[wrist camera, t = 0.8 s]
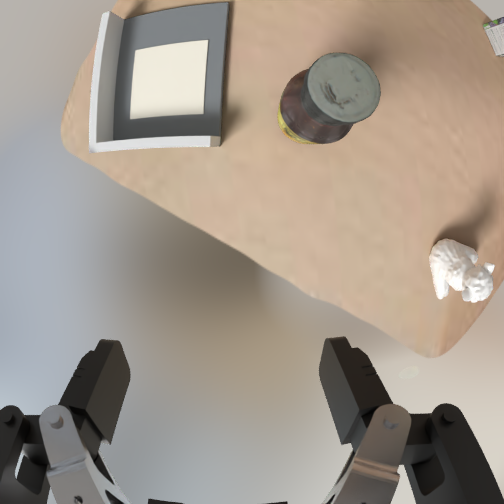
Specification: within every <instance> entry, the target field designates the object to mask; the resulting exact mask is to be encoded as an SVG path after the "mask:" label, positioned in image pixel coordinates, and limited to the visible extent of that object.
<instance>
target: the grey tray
mask: <svg viewBox="0 0 504 504" xmlns="http://www.w3.org/2000/svg"><path fill="white" fill-rule="evenodd" d="M228 16H229V3H228V2H225V3H212V4H202V5H194V6H187V7H180V8H174V9H168V10H163V11H158V12H153V13H149V14H144V15H140V16H136V17H133V18H129V19H125V20H124V19H122V18H121V17H119V16H117V15H116V14H114V13H112V12H111V11H109V12H106V13H103V14H102V19H101V24H100V29H99V34H98V40H97V46H96V52H95V59H94V67H93V76H92V86H91V99H90V119H89V153H95V152H105V151H116V150H128V149H144V148H166V147H217V146H220V143H221V120H222V100H223V82H224V67H225V52H226V39H227V27H228Z"/></svg>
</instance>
